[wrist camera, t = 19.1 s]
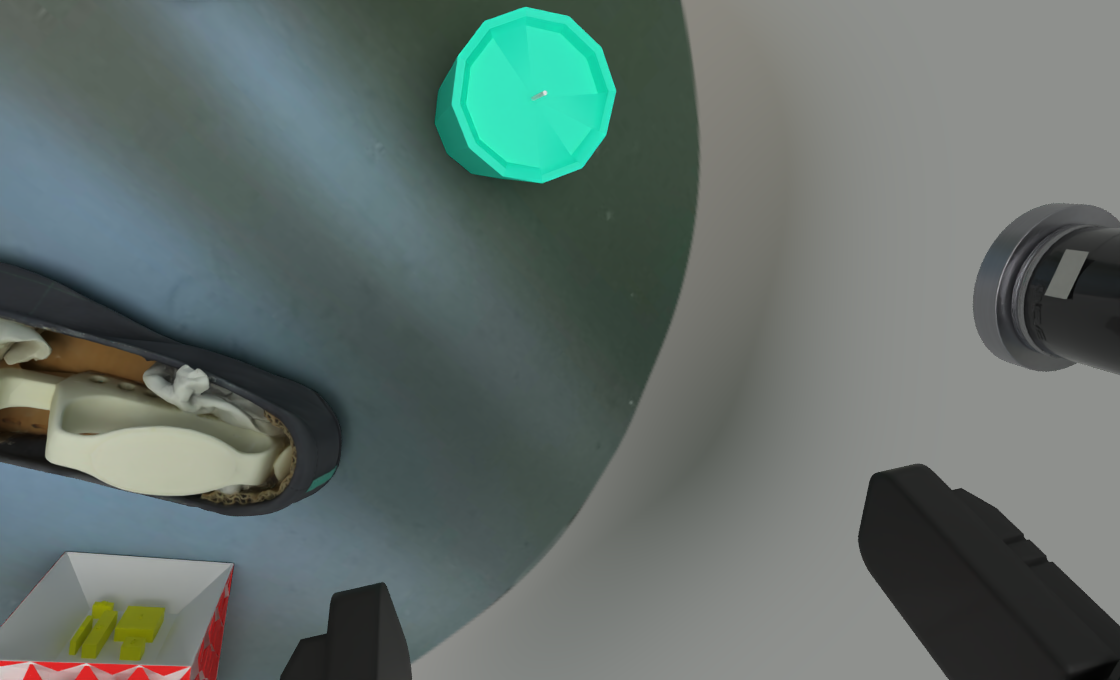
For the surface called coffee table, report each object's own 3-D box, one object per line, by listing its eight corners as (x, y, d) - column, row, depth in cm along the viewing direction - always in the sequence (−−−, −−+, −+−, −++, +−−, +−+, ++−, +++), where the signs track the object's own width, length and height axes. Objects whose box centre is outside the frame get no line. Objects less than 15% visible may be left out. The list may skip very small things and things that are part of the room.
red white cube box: (234, 563, 36) (192, 666, 29) (215, 688, 38) (171, 816, 30) (63, 551, 34) (-31, 659, 26) (51, 684, 35) (-42, 822, 28)
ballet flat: (-194, 182, 28) (-420, 187, 20) (371, 370, 35) (365, 427, 28) (-241, 362, 29) (-471, 432, 21) (317, 507, 36) (296, 599, 29)
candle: (415, 148, 33) (426, 138, 22) (461, 31, 32) (497, -43, 21) (524, 198, 35) (587, 212, 24) (570, 88, 34) (658, 49, 23)
